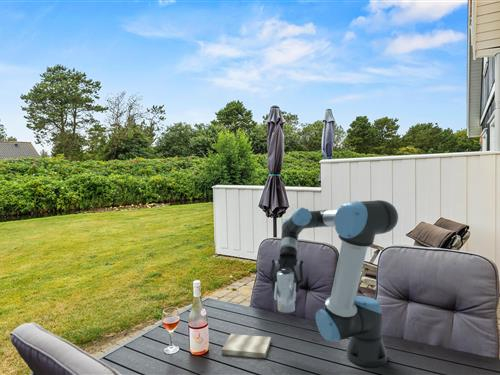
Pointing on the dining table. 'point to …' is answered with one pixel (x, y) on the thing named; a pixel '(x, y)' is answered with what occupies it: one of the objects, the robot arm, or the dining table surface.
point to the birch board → (247, 346)
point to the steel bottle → (285, 290)
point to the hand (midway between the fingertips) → (284, 298)
